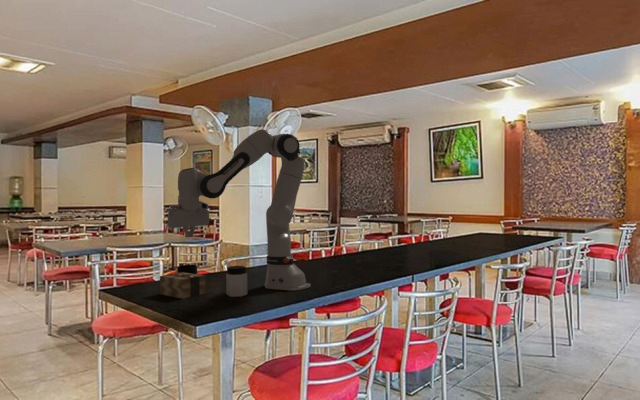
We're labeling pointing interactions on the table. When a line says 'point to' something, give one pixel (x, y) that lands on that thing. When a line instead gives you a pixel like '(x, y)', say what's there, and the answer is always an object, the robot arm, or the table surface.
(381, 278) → the table surface
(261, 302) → the table surface
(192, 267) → the mug
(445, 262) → the table surface
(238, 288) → the jar
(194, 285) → the oak block
